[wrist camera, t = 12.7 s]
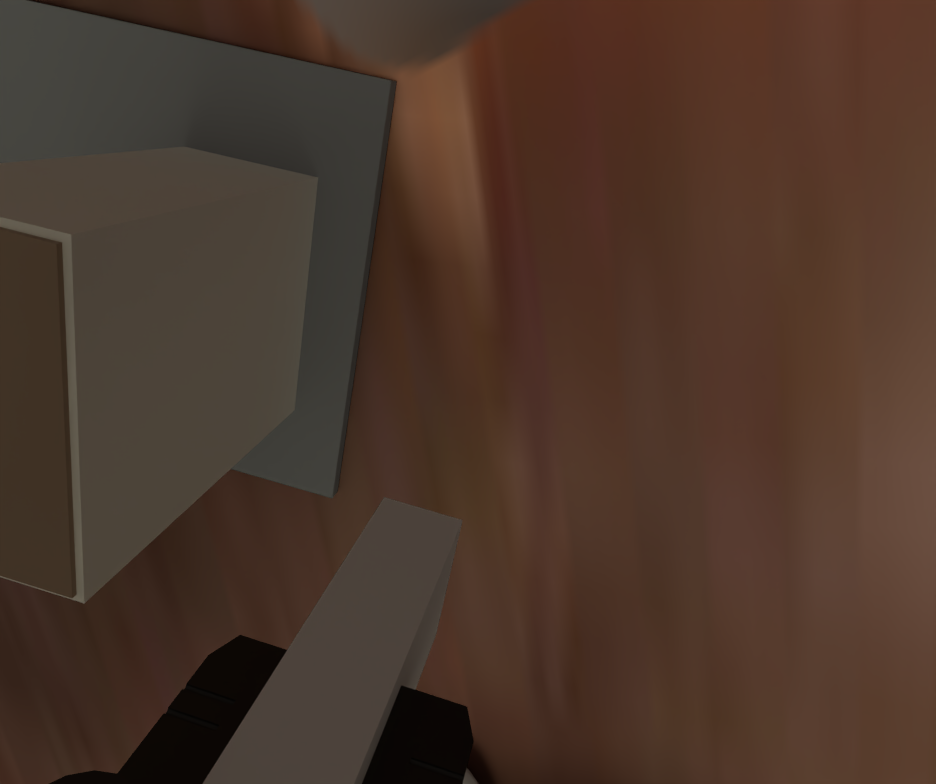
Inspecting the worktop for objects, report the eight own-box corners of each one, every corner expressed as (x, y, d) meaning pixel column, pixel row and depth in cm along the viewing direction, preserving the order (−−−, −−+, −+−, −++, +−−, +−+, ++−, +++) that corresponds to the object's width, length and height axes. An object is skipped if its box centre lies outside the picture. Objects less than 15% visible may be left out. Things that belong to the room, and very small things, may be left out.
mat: (-102, 364, 32) (-115, 368, 32) (-158, -41, 26) (-175, -44, 25) (337, 491, 30) (332, 498, 29) (396, 81, 23) (391, 80, 23)
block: (177, 378, 29) (-103, 549, 18) (184, 146, 25) (-164, 178, 14) (294, 410, 28) (80, 607, 17) (318, 177, 24) (65, 235, 13)
